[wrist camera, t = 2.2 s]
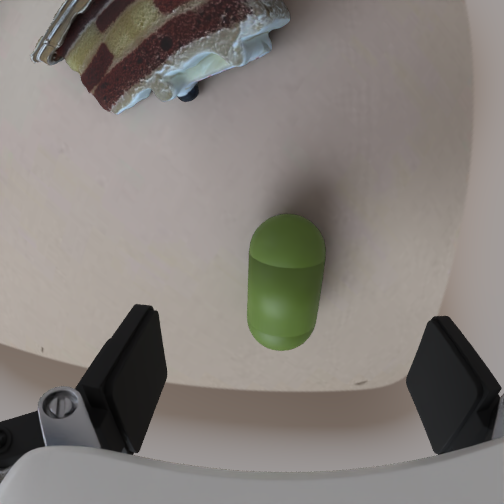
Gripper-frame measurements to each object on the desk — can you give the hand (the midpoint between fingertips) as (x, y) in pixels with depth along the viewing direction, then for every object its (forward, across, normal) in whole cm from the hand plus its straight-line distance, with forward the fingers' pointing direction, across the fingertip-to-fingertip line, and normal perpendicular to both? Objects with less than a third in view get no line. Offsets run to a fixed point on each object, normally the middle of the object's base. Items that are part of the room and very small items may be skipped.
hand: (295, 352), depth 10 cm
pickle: (+6, 0, 0) cm, 6 cm away
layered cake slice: (+6, +6, -12) cm, 14 cm away
